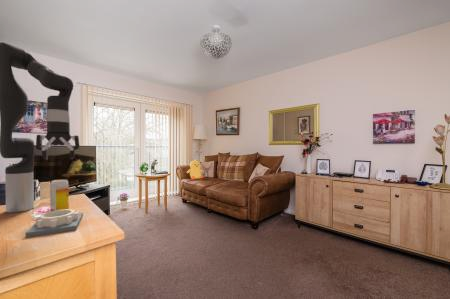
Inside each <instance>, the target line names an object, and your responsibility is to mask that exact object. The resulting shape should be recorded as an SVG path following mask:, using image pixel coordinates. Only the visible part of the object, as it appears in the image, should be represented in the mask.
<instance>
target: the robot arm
mask: <svg viewBox="0 0 450 299" xmlns="http://www.w3.org/2000/svg"><path fill="white" fill-rule="evenodd" d="M13 68H16V69H19V70H24V71H27V73H28V74H29V75H30V76H31V77H33V78H34V79H35V80H36V81H38V82H39V83H40V84H41V86H43V87H44V88H46V89H49V90H52V91H57V92H59V93H58V95H48V96H47V100H46V102H47V103H46V104H47V106H46V107H47V108H46V110H47V111H46V119H45V120H46V134H45V135H42V134H36V138H35V140H36V142H34V140H33V139H32V138H30V137H29V138H28V137H13V131H14V129H15V127H16V126H17V125H18V123H19V122H20V121H21V120H23V118H24V117H25V116H26V114H27V113H28V111H29V98H28V94H27V93H26V91H25V89H23V86H22V85H21V84H20V83H19V82H18V80H17V79H16V76H15V75H14V73H13ZM73 89H74V83H73V80H72V78H71V77H69V76H67V75H64V74H60V73H57V72H55V71H54V70H53V69H52V68H50V67H49V66H47V65H45V64H44V63H41V62H40V61H38V59H36V58H35V57H34V56H33V55H32V54H31V53H29V52H28V51H27V50H25V49H22V48H20V47H18V46H15V45H12V44H9V43H7V42H0V156H1V157H2V158H3V159H21V160H20V161H19V162H17V163H15V164H12V165H9V166H6V167H5V169H4V171H5V176H4V177H5V179H4V180H5V213H21V212H25V211H30V210H33V209H34V208H35V200H34V199H35V196H34V195H35V193H34V192H35V191H34V190H35V185H34V184H35V183H34V167H35V149H36V150H38V151H39V150H40V151H41V154H42V155H41V157H42V159H43V160H44V161H48V160H49V151H48V150H49V149H50V148H51V147H52V146H65V147H67V148H68V149H69V159H70V160H73V159H74V158H75V155H76V154H75V151H76V150H79V149H80V137H79V135H78V134H77V135H71V134H70V133H71V132H70V129H71V125H70V123H71V122H70V121H71V118H70V110H69V106H70V105H69V102H70V99H71V96H72V93H73ZM45 139H46V140H47V142H46V143H45V144H44V146H43V141H44V140H45ZM70 140H72V141H74V146H73V145H72V144H71V143H70ZM33 207H34V208H33ZM32 208H33V209H32Z"/></svg>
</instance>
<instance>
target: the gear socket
mask: <svg viewBox="0 0 450 299" xmlns="http://www.w3.org/2000/svg"><path fill="white" fill-rule="evenodd" d="M83 216H84V212H79V211H76V209H71V208H69V209H63V210H55V211H51V212H50V211H48V212H45V213H42V214H41V215H39V216H37V217H35V223H34V224H33V225H32V226H31V227H30V228H29V229H28V230H27V231H26V232H25V238H30V237H31V238H33V237H38V236H45V235H50V234H58V233H63V232H71V231H77V230H78V227H79V225H80V223H81V221H82V219H83Z"/></svg>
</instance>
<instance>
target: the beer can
mask: <svg viewBox="0 0 450 299" xmlns="http://www.w3.org/2000/svg"><path fill="white" fill-rule="evenodd" d="M49 195H50V196H49V198H50V200H49V202H50V203H49V205H50V210H49V212H51V211H55V210H63V209H70V208H69V207H70V205H69V204H70V202H69V199H70V198H69V195H70V194H69V181H68V179H54V180H51V181H50V184H49Z"/></svg>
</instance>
